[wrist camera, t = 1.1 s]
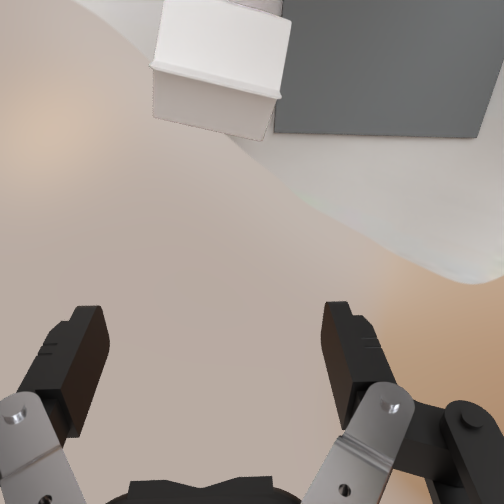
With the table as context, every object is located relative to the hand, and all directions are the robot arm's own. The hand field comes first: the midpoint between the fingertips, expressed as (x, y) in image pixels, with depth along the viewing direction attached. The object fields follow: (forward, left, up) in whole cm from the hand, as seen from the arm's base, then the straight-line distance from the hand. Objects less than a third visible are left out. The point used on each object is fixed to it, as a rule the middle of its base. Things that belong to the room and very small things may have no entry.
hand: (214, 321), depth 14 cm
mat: (-7, +15, -30) cm, 34 cm away
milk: (-7, 0, -30) cm, 31 cm away
